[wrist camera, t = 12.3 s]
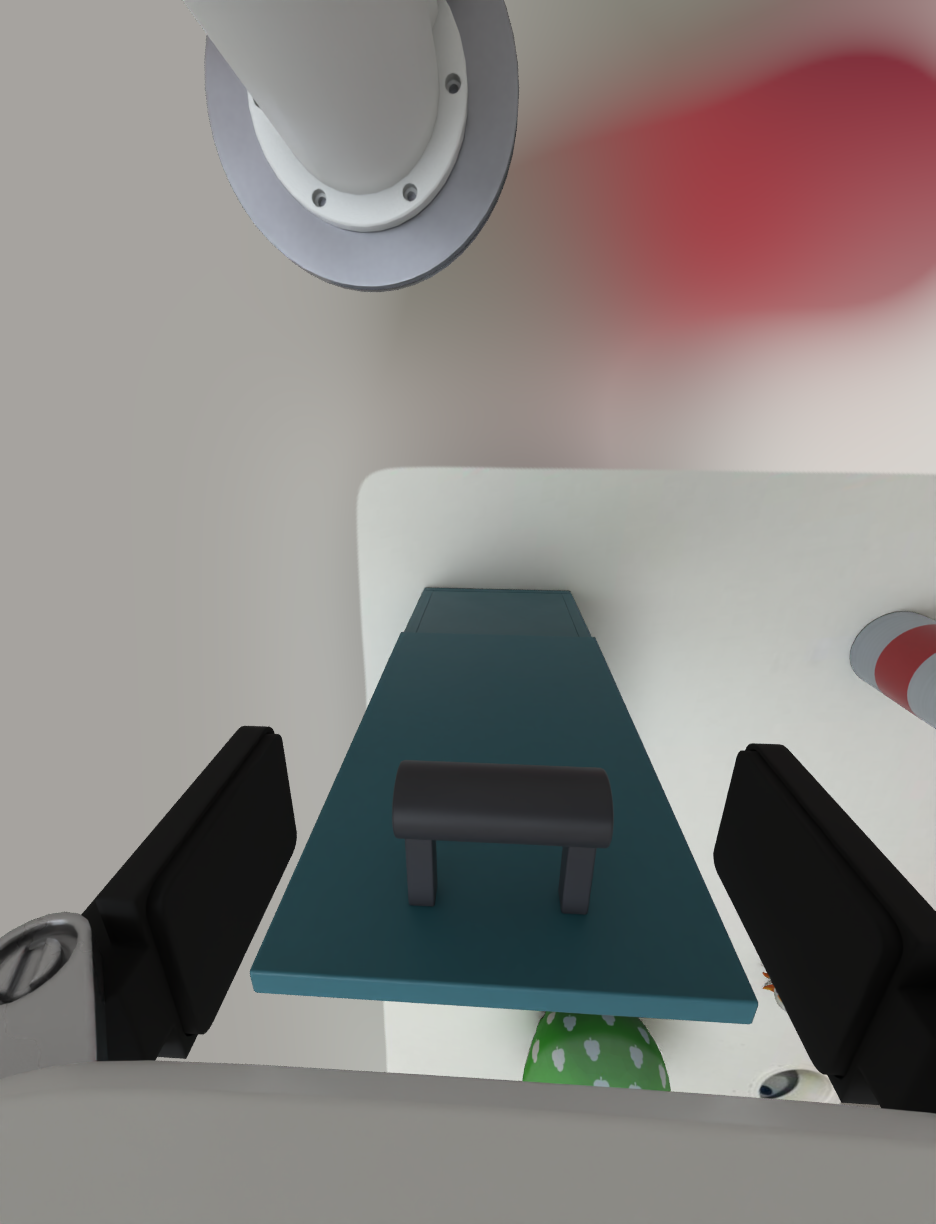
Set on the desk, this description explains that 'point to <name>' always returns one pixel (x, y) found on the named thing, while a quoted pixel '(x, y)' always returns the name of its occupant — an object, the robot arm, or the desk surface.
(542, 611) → the cool box
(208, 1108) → the robot arm
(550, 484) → the desk surface
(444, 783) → the lid
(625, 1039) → the piggy bank
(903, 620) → the can
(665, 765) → the desk surface
